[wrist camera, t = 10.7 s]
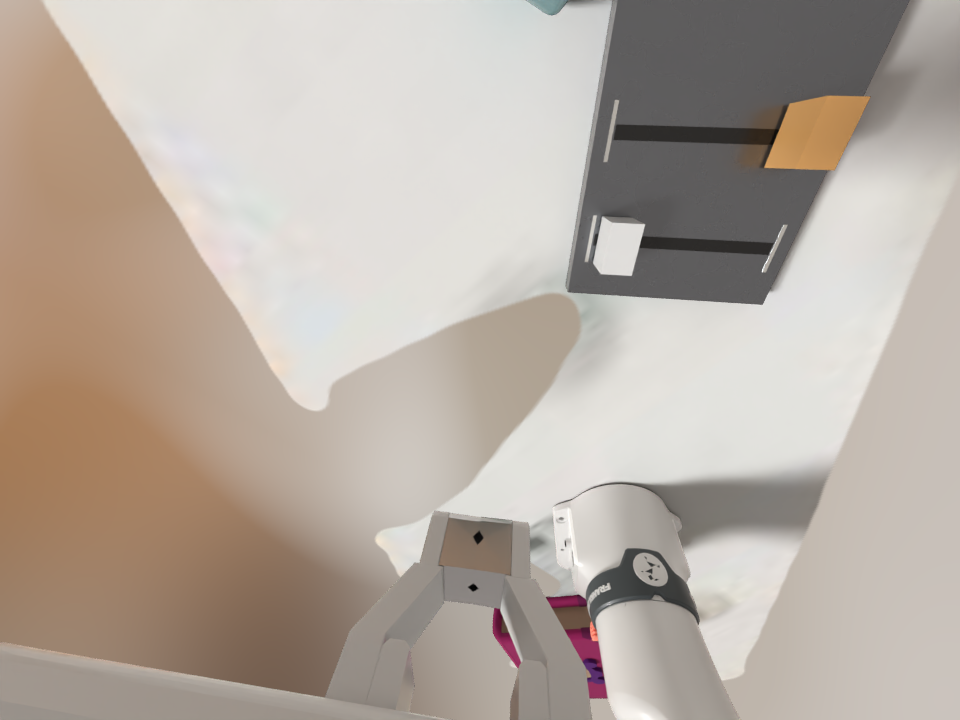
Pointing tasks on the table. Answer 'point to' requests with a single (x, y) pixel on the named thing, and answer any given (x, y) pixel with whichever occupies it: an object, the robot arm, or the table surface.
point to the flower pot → (549, 5)
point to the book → (577, 629)
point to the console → (713, 136)
